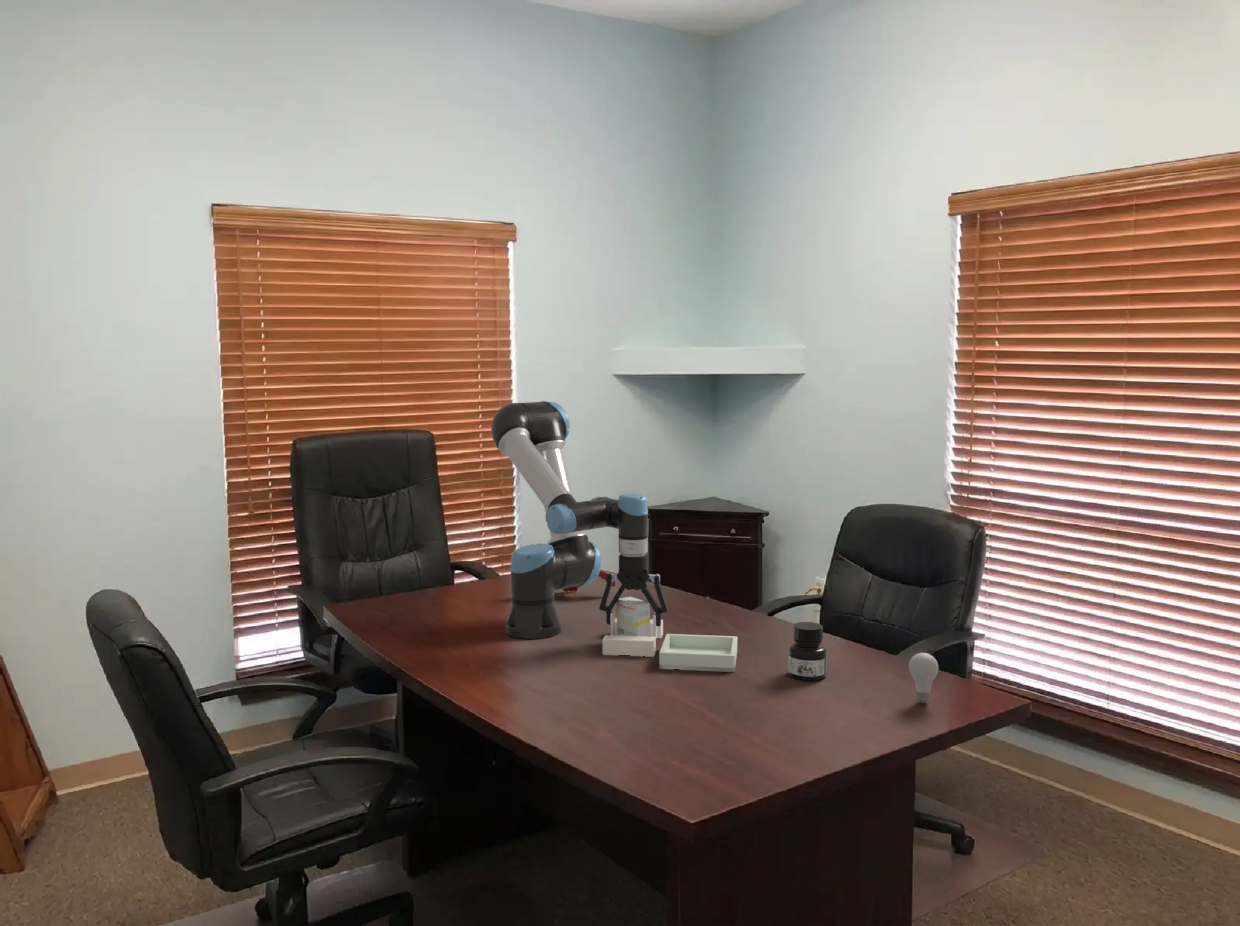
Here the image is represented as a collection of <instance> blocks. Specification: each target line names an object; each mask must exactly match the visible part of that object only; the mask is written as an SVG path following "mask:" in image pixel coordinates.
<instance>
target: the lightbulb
mask: <svg viewBox="0 0 1240 926" xmlns="http://www.w3.org/2000/svg"><path fill="white" fill-rule="evenodd" d="M938 663H939V662H938V661H937V659H936V658H935V657H934V655H932V654H930V653H927V652H918V653H915V655H913V656H912V657H911V658H910V660H909V662H908V671H909V674H910V676H911V677H912V679H913V681H914V685H915V686H914V689H915V691H916V700H917V701H918V702H919V703H920V702H922V703H921V704H925V703H927V702H929V701H930V692H931V688H932V684H933V682H934V680H935V678H936V677H937V675H938V673H939V670H940V669H939V664H938Z"/></svg>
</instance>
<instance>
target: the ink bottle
mask: <svg viewBox="0 0 1240 926" xmlns="http://www.w3.org/2000/svg"><path fill="white" fill-rule="evenodd" d="M792 629H793V630H792V632H793V633H792V638H793V643H792V644H790V645H789V647H788V661H787V662H788V663H787V665H788V667H787V669H788V675H789V676H790V677H791V678H793V679H796V680H800V679H802V680H801V681H809V680H815V681H820V680H823V679H824V677H825V678H826V676H827V674H828V673H827V670H828V669H827V668H828V667H827V664H828V660H827V659H828V651H827V650H828V649H827V647H826V646H825V645H823V643H822V642H823V637H824V636H823V635H824V634H823V632H824V631H823V630H824V627H823V625H822V624H821V623H818V622H814V621H800V622H795V623H793V627H792ZM819 679H820V680H819Z"/></svg>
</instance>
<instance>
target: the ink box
mask: <svg viewBox="0 0 1240 926" xmlns="http://www.w3.org/2000/svg"><path fill="white" fill-rule="evenodd" d="M616 618H617V635H622V636H648V637H650V636H651V633H650V619H651V605H650V603H649V602H648V601H646V600H643V599H639V598H636V597H633V596H626V597H619V599H618V600H617V602H616Z"/></svg>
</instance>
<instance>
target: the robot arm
mask: <svg viewBox="0 0 1240 926" xmlns="http://www.w3.org/2000/svg"><path fill="white" fill-rule="evenodd" d="M490 425H491V426H490V432H491V438H492V440H493V442H494V445H495V447H496V448H497V450H498V451H499V453H500V454H502V455H503V456H504V455H505V456H507V457H508V458H509V460H510V462H512V464H513V465H514V467H515V468H516V470H517V471H518V473H520V475H521V476H522V477H523V479H524V480H525V481H526V483H527V484H528V486H529V487H530V489H531V490H532V492H533V493H534V494H535V496H536V497H537V498H538V500H539V501H540V502H541V503H542V505H543V507H544V511H545V515H544V516H545V522H546V523H547V524H546V525H547V528H548V530H549V533H550V538H549V540H548V542H547V543H536V544H528V545H524V546H521V547H519V548H517V549H515V550H514V551H513V552H512V554H511V558H510V565H509V567H510V568H509V569H510V584H511V589H510V590H511V591H510V592H511V605H510V609H509V613H508V616H507V619H506V622H505V634H506V635H507V636H509V637H512V638H516V639H527V640H530V639H531V640H534V639H535V640H536V639H545V638H549V637H554V636H556V635H558V634H560V632H562V621H561V619H560V618H561V617H560V615H559V612H558V610H557V606H556V604H555V591H558V590H563V589H564V588H569V587H574V586H581V587H582V586H584V585H587V584H590V583H593V582H594V581H596V579H597V578H598V575H599V572H600V571H601V570H602V569H601V568H602V554H601V551H600V548H599V547H598V546H597V544H596V543H595V542H592V541H589V540H590V539H589V537H588V533H586V532H584V531H588V530H595V529H602V528H603V529H604V528H613V529H618V553H619V555H618V572H617V573H613V572H611V571H610V572H608V575H607V582H606V585H605V589H604V591H603V594H602V599H601V601H600V604H599V610H600V611H603V612H605V613H606V615H605V616H606V619H605V620H606V625H610V635H615V618H616V610H613V609H614V607H615V605H617V600H618V599H619V598H621V596H622V594H623V592H624V591H625V590H628V591H630V590H631V591H632V590H634V591H641V593H643V595H644V596H645V599H646V600H647V602H649V603H650V607H652V610H653V611H654V612H653V614H652V619H653V637H656V639H658V638H657V626H660V624H661V620H662V614H663V613H667V611H668V609H669V607H668V603H667V600H666V596H665V593H664V591H663V587H662V584H661V575H660V573H656V574H651V573H649V562H648V561H649V557H648V555H647V553H648V552H649V551H648V550H649V549H648V548H649V545H648V542H649V538H648V531H649V530H648V529H649V528H648V526H649V525H648V522H649V521H648V515H649V514H648V513H649V509H648V499H647V497H646V495H645V494H642V493H624V494H620V495H619V496H618V499H616V498H611V497H608V496H603V497H602V496H595V497H593V498H592V499H591V500H584V501H576V499H575V497H574V495H573V492H572V487H571V482H570V479H569V474H568V470H567V466H566V462H565V457H564V453H563V450H564V449H563V448H564V447H565V445H566V443H567V441H566V439H567V437H568V436H569V434H570V427H571V424H570V417H569V415H568V413H567V411H566V410H565V408H564V407H563V406H562V405H561V404H559V403H557V402H554V401H545V400H541V401H532V402H531V401H530V402H512V403H507V404H505V405H503V406H502V407H500V408H499V409H498V410H497V412H496V413H495V415H494V416H493V418H492V420H491V424H490ZM616 580H618V581H619V582H620V584H621V585H620V587H619V588H618V590H617V591H616V593H615V595H614V596H613V598H612V600H611V601H610V602H609V605H607V603H608V601H609V600H608V599H609V597H610V592H611V589H612V587H613V586H612V584H613V582H614V581H615V582H616ZM649 580H650V581H651V583H652V584H654V589H655V592H656V594H657V598H658V601H659V603H658V602H657V600H656V598H655V597H654V596H653V593H652V592H651V591H650V588H649V586H648V584H647V582H648V581H649ZM659 604H660V605H659Z"/></svg>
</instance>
